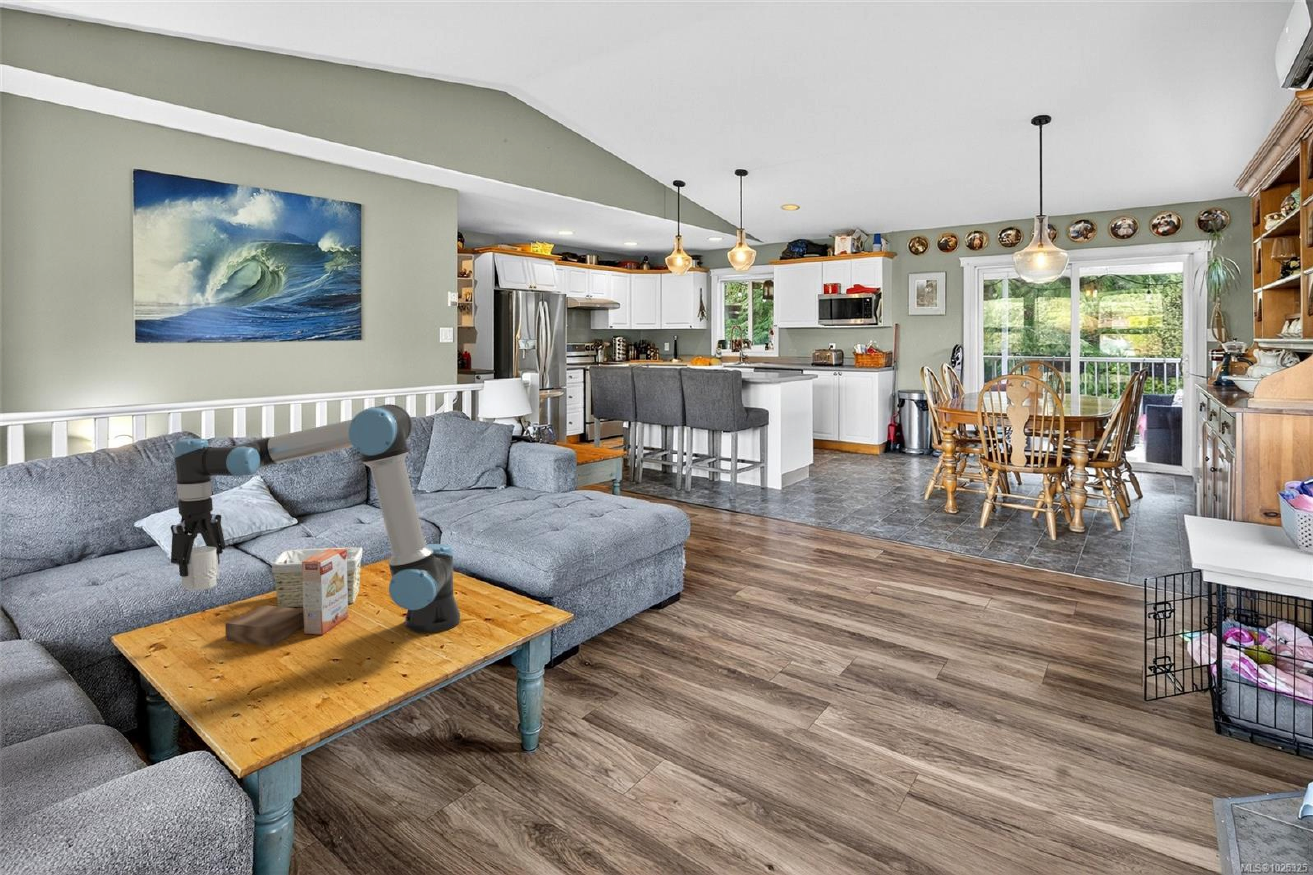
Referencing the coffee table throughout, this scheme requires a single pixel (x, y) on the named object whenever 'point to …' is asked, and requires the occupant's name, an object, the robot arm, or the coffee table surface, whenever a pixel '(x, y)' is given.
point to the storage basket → (290, 575)
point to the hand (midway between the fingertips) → (201, 582)
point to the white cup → (203, 567)
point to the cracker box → (324, 591)
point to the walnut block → (265, 625)
